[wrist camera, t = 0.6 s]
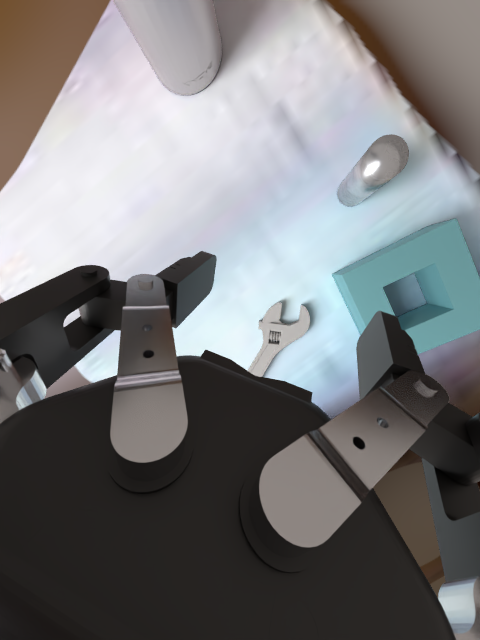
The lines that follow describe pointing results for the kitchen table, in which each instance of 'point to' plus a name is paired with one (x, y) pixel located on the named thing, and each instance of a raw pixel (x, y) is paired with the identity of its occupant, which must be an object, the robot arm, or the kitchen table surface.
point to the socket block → (433, 277)
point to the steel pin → (374, 169)
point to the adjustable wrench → (277, 336)
